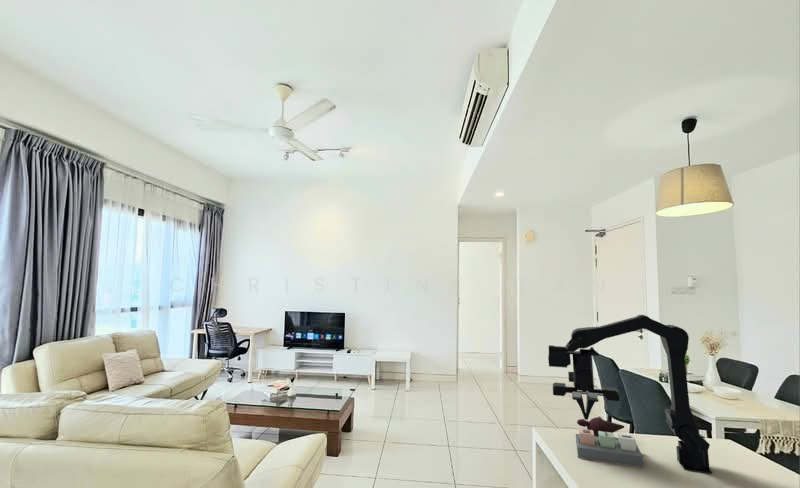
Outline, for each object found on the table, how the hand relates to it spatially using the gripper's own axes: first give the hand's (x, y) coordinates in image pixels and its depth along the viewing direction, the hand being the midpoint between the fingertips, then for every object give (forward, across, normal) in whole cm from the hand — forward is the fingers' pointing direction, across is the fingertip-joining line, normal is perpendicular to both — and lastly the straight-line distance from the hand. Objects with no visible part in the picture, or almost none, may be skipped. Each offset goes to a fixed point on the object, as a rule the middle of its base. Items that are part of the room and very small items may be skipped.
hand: (586, 419), depth 119 cm
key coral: (+8, 0, 0) cm, 8 cm away
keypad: (+10, -5, 0) cm, 11 cm away
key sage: (+8, -5, 0) cm, 9 cm away
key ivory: (+8, -11, 0) cm, 13 cm away
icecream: (+10, -5, -14) cm, 18 cm away
